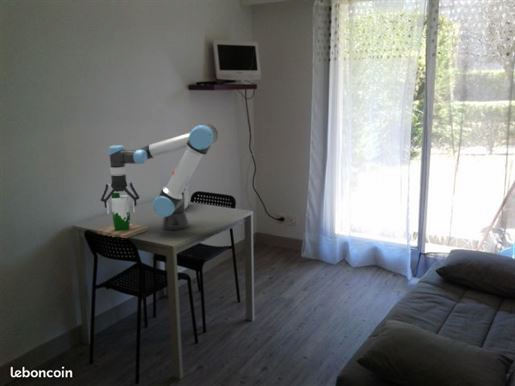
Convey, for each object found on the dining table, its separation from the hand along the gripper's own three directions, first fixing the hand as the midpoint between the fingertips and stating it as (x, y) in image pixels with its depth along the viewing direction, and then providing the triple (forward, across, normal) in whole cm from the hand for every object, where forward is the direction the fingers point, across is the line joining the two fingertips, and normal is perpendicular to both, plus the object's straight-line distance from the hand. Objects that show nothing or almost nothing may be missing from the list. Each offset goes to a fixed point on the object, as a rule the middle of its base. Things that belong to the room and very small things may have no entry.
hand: (121, 212), depth 246 cm
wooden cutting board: (+11, 0, 0) cm, 11 cm away
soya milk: (+9, 0, 0) cm, 9 cm away
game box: (+12, -35, -44) cm, 57 cm away
